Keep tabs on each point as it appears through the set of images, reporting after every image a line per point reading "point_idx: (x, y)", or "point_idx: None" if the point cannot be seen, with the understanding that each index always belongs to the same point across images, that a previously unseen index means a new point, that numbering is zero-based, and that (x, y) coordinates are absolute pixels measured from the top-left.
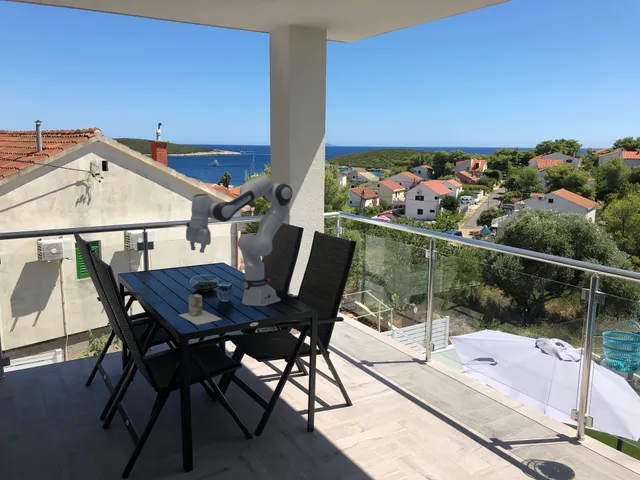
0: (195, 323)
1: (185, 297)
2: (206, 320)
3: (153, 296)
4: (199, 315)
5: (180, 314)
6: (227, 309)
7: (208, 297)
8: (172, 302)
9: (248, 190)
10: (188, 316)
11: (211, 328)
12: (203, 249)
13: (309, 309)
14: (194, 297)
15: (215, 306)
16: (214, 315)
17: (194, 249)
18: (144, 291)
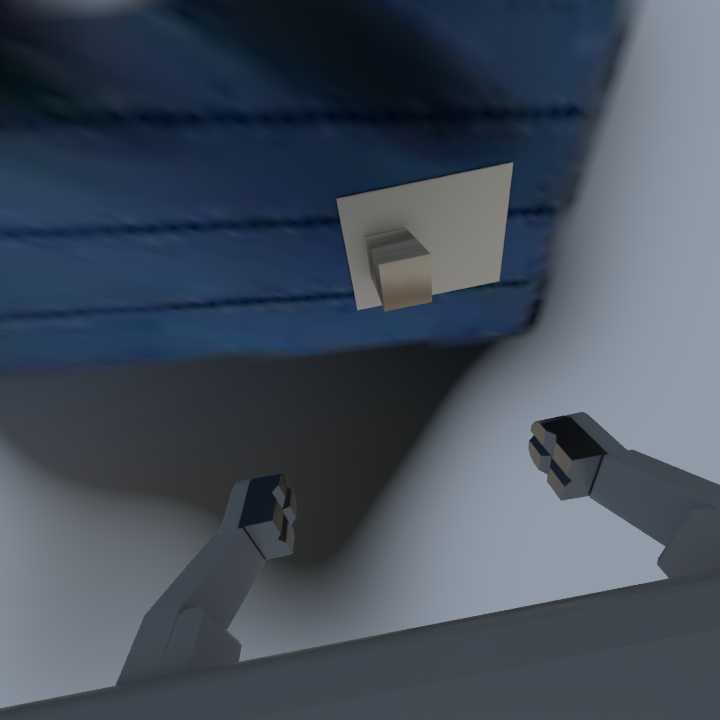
0: (483, 282)
1: (37, 205)
2: (481, 235)
3: (22, 340)
4: None
5: (356, 303)
6: (364, 40)
7: (31, 45)
8: (145, 288)
9: None
10: None
11: (552, 241)
12: (621, 460)
13: None
14: (431, 294)
15: (275, 94)
16: (444, 177)
17: (284, 488)
18: None
